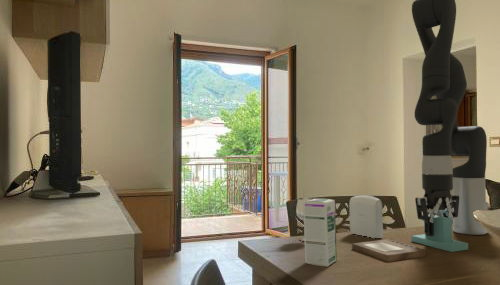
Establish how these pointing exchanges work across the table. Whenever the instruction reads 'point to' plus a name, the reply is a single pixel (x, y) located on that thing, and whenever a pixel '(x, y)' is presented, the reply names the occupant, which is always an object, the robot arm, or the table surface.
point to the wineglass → (301, 207)
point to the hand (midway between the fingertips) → (438, 234)
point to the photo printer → (366, 216)
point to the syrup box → (320, 232)
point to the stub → (441, 236)
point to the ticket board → (389, 250)
